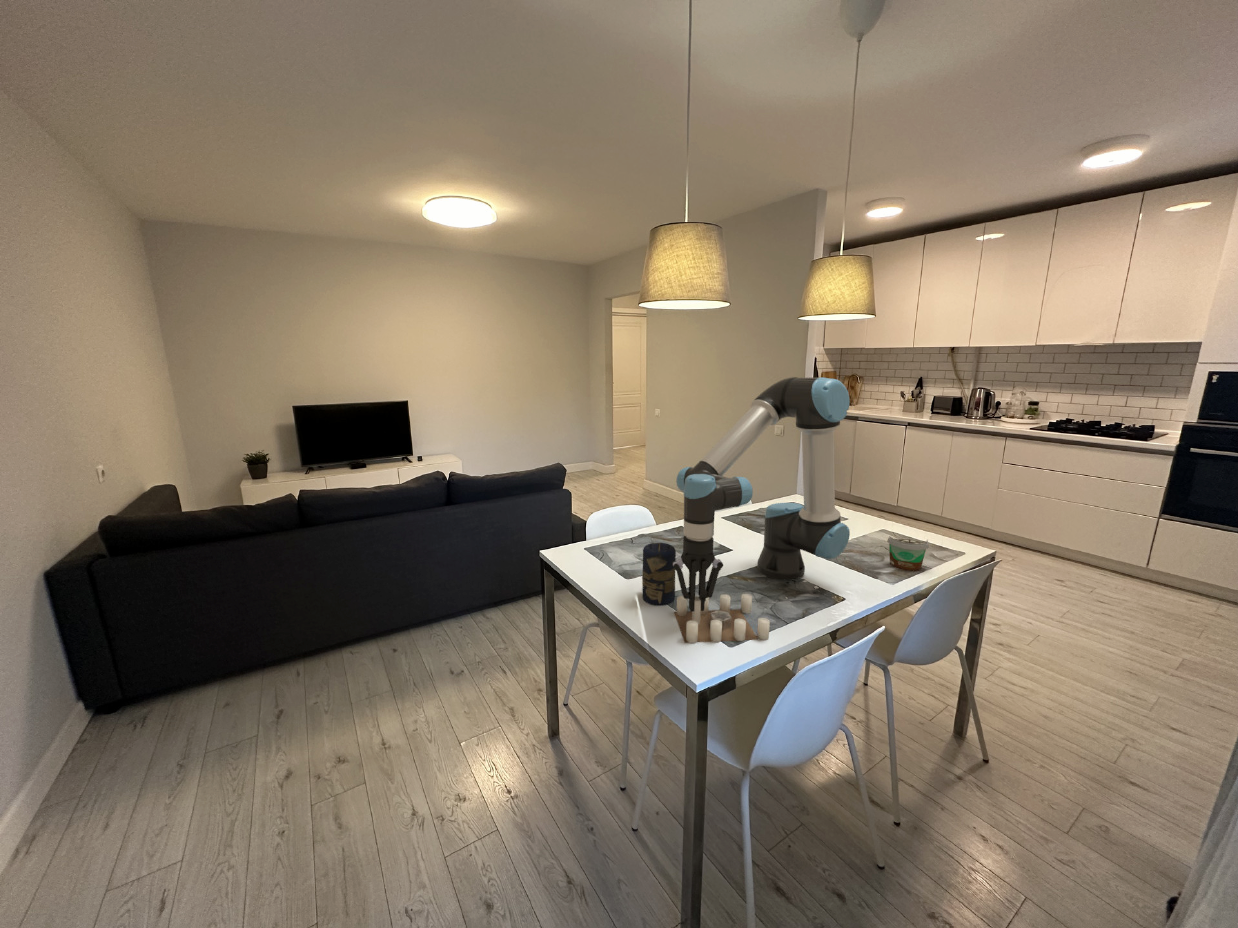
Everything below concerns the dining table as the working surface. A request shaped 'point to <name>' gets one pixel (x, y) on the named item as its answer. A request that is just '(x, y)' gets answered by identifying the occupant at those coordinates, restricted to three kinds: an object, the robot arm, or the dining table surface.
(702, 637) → the board
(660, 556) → the canister
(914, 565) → the food container
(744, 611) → the spacers
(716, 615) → the nut
